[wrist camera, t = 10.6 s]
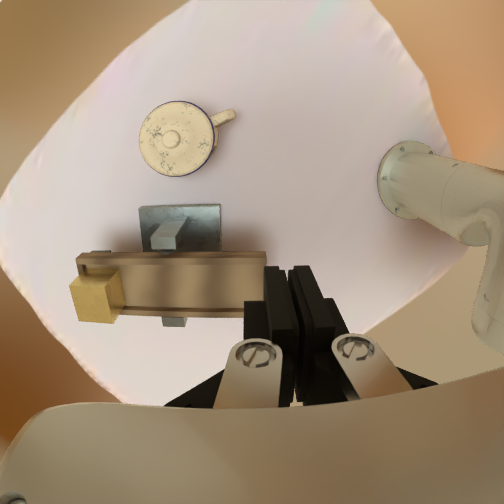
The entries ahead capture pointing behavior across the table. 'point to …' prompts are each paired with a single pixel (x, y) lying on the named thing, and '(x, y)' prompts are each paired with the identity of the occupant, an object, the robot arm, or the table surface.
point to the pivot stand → (180, 233)
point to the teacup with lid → (180, 137)
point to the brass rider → (98, 295)
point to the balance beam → (184, 281)
